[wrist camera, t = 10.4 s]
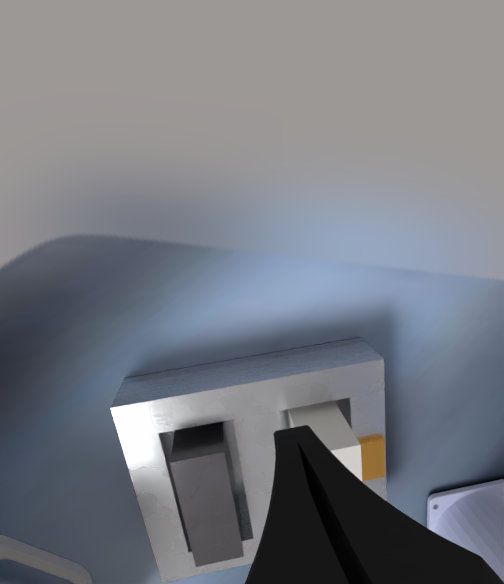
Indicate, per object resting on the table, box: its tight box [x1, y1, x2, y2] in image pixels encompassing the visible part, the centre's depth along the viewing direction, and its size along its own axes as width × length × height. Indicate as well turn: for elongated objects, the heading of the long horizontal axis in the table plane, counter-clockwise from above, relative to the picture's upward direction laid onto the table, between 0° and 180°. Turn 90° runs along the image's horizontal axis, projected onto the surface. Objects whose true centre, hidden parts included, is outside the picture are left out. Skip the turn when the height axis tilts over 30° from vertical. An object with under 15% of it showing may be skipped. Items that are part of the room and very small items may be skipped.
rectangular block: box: [285, 401, 362, 481], centre depth 21 cm, size 8×3×6 cm, turn 8°
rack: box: [110, 337, 387, 583], centre depth 22 cm, size 14×16×5 cm
